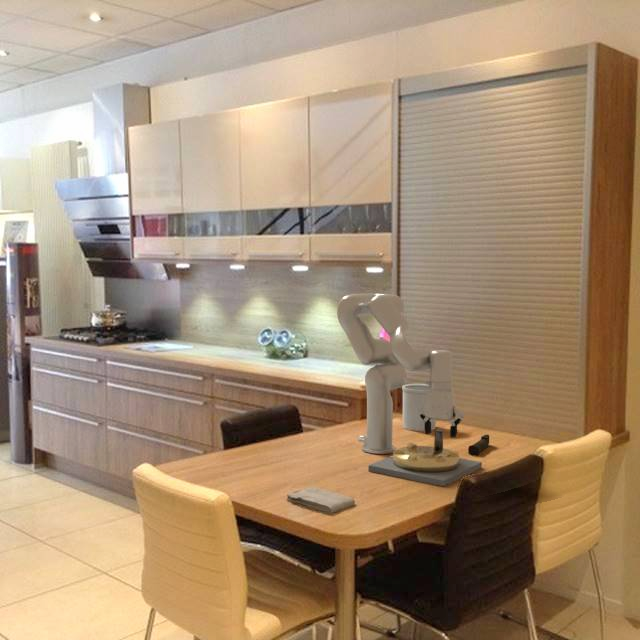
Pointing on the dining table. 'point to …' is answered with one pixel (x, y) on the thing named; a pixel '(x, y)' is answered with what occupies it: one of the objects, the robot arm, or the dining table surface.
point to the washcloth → (320, 500)
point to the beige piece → (427, 456)
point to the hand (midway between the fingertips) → (440, 435)
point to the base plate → (434, 478)
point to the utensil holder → (414, 406)
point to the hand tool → (479, 445)
